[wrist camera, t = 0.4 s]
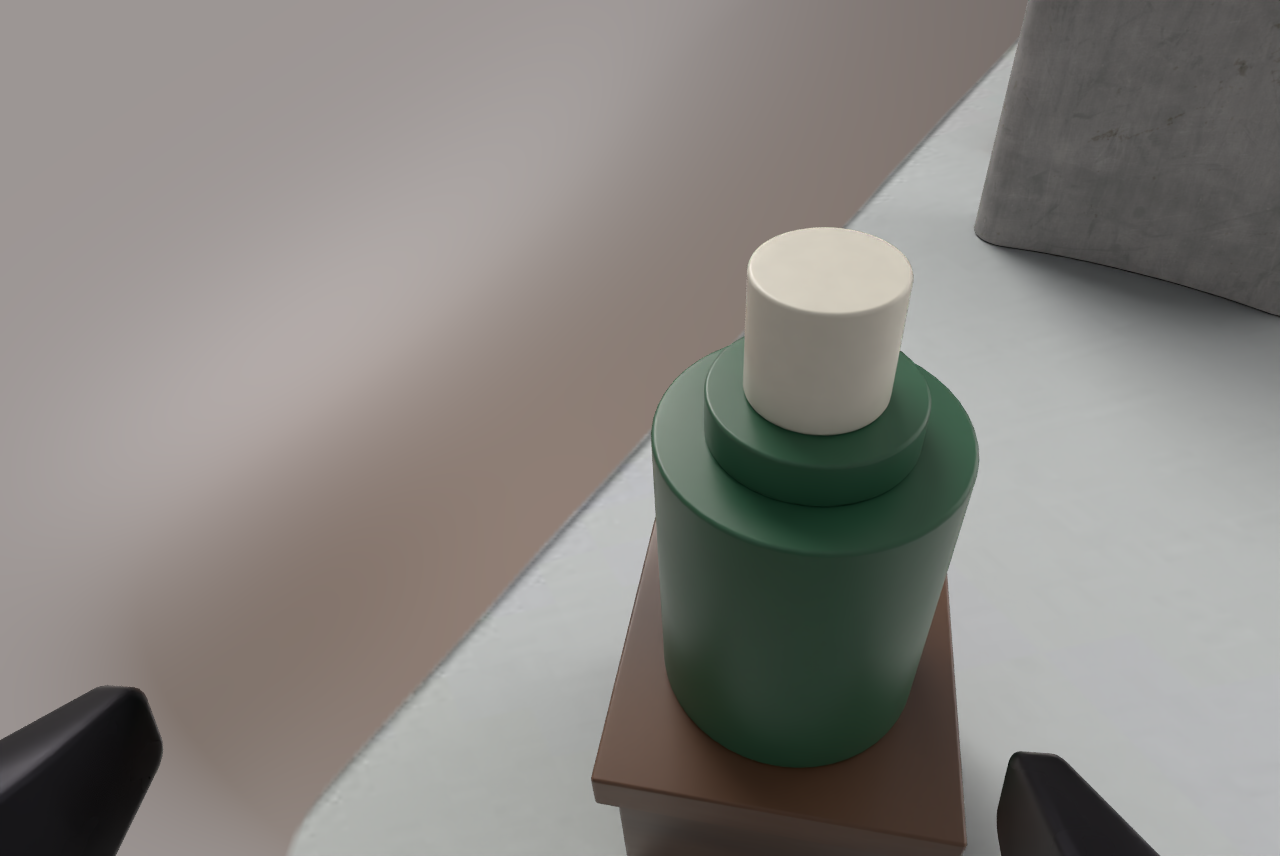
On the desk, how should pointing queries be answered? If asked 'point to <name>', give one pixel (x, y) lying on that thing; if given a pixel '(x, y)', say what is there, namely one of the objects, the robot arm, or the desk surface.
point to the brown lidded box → (773, 795)
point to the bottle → (807, 506)
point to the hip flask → (1145, 142)
